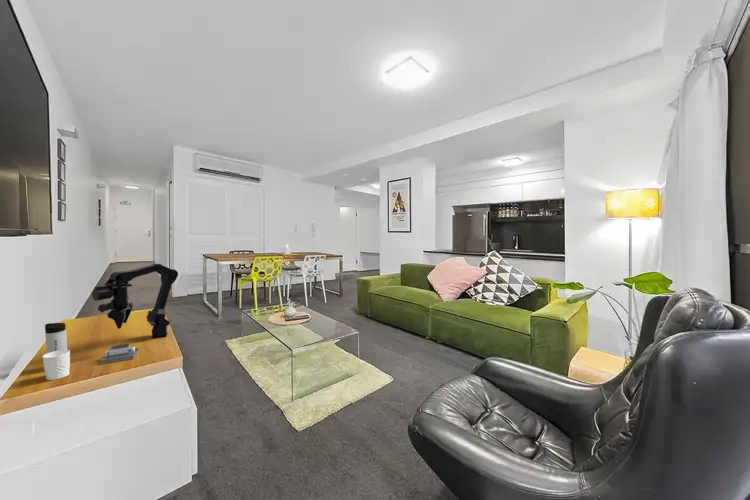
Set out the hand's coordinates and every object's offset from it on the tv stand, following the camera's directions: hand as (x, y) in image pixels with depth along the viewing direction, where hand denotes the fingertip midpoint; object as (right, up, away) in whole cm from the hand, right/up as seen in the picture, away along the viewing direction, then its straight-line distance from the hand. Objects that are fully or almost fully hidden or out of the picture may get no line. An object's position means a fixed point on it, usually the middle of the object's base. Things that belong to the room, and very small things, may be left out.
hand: (122, 325), depth 152 cm
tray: (+8, -13, -10) cm, 18 cm away
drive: (+8, -12, -10) cm, 17 cm away
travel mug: (-12, -14, -20) cm, 27 cm away
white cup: (-3, -15, -28) cm, 31 cm away
